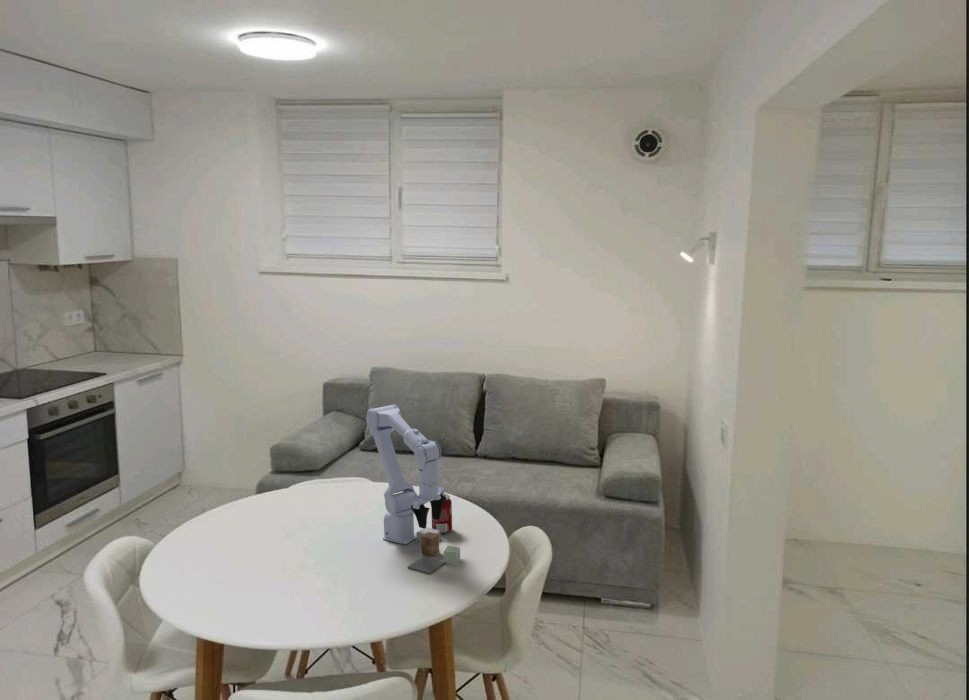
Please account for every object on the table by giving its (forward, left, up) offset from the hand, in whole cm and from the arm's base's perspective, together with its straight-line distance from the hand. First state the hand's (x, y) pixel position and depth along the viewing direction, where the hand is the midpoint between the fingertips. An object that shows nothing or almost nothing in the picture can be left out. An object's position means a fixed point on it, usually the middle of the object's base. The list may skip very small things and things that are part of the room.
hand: (429, 523), depth 230 cm
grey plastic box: (-6, +8, -10) cm, 14 cm away
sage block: (+9, -2, -10) cm, 14 cm away
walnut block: (0, 0, -10) cm, 10 cm away
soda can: (-6, +16, -10) cm, 20 cm away
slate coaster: (+4, -8, -10) cm, 13 cm away
